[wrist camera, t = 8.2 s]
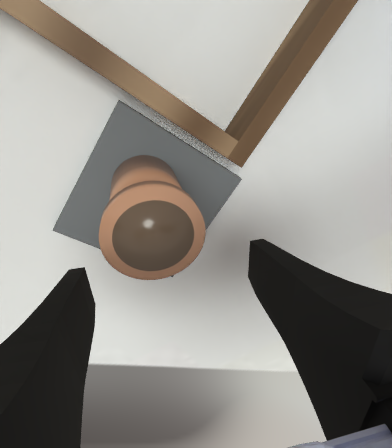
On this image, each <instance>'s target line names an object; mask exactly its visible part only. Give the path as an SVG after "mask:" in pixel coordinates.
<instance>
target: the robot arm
mask: <svg viewBox="0 0 392 448" xmlns="http://www.w3.org/2000/svg"><path fill="white" fill-rule="evenodd" d="M248 278H249V280H250V282H251V285H252V287H253V289H254V292H255V294H256V296H257V298H258V299H259V301H260V303H261V304H262V306H263V308H264V309H265V311H266V313H267V314H268V316H269V318H270V319H271V321H272V322H273V324H274V326H275V327H276V329H277V331H278V332H279V334H280V336H281V337H282V339H283V341H284V343H285V345H286V347H287V349H288V351H289V353H290V355H291V357H292V359H293V361H294V363H295V365H296V368H297V370H298V372H299V374H300V376H301V379H302V381H303V383H304V385H305V387H306V390H307V392H308V395H309V397H310V400H311V402H312V404H313V406H314V409H315V411H316V414H317V416H318V419H319V421H320V424H321V426H322V429H323V432H324V434H325V437H326V439H327V441H325V442H322V443H321V442H310V443H305V444H299V445H296V446H292V447H289V448H392V294H390V293H386V292H382V291H378V290H375V289H372V288H368V287H365V286H362V285H359V284H356V283H353V282H350V281H347V280H345V279H342V278H340V277H337V276H335V275H332V274H330V273H327V272H325V271H323V270H321V269H319V268H317V267H314V266H312V265H310V264H308V263H306V262H304V261H302V260H301V259H299V258H297V257H295V256H293V255H291V254H290V253H288V252H286V251H284V250H282V249H281V248H279V247H277V246H275V245H274V244H272V243H270V242H268V241H266V240H264V239H259V240H253V241H250V252H249V270H248ZM94 326H95V302H94V298H93V295H92V291H91V288H90V284H89V281H88V277H87V274H86V271H85V267H83V268H77V269H71V270H68V272H67V273H66V274H65V275H64V276H63V278H62V279H61V280H60V281H59V283H58V284H57V285H56V286H55V287H54V289H53V290H52V291H51V292H50V294H49V295H48V296H47V297H46V298H45V299H44V301H43V302H42V303H41V304H40V305H39V306H38V308H37V309H36V310H35V311H34V312H33V313H32V314H31V315H30V316H29V317H28V318H27V319H26V320H25V322H24V323H23V324H22V325H21V326H20V327H19V328H18V329H17V330H16V331H15V332H13V333H12V334H11V335H10V336H9V337H8V338H7V339H6V340H5V341H4V342H3V343H2V344H0V448H80V442H81V425H82V424H81V423H82V409H83V395H84V385H85V378H86V373H87V367H88V361H89V356H90V350H91V344H92V338H93V333H94Z"/></svg>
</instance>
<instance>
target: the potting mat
mask: <svg viewBox="0 0 392 448" xmlns="http://www.w3.org/2000/svg"><path fill="white" fill-rule="evenodd" d="M139 155H150V156H154V157H157V158H159V159H161V160H163V161H164V162H166V163H167V164H168V165H169V166H170V167H171V168H172V170H173V172H174V174H175V176H176V178H177V180H178V182H179V184H180V186H181V188H182V189H183V190H184V191H185V192H187V193H188V194H189V195H190V196H191V197H192V199H193V200H194V201H195V203H196V205H197V206H198V208H199V210H200V212H201V214H202V216H203V219H204V222H205V231H206V229H207V228H208V226H209V225H210V223H211V222H212V221H213V219H214V218H215V216H216V215H217V214H218V212H219V211H220V209H221V208H222V206H223V205H224V204H225V202H226V201H227V199H228V198H229V197H230V195H231V194H232V192H233V191H234V189H235V188H236V187H237V185H238V184H239V182H240V181H241V180H242V179H241V178H240V177H239V176H237V175H236V174H234V173H232V172H231V171H229V170H228V169H226V168H225V167H223V166H221V165H220V164H218V163H217V162H215V161H214V160H212V159H211V158H209V157H207V156H206V155H204V154H203V153H201V152H200V151H198V150H196V149H195V148H193V147H192V146H190V145H189V144H187V143H185V142H184V141H182V140H181V139H179V138H178V137H176V136H175V135H173V134H171V133H170V132H168V131H167V130H165V129H164V128H162V127H160V126H159V125H157V124H156V123H154V122H153V121H151V120H150V119H148V118H146V117H145V116H143V115H142V114H140V113H139V112H137V111H135V110H134V109H132V108H131V107H129V106H128V105H126V104H124V103H123V102H121V101H120V100H119V101H118V103H117V105H116V106H115V108H114V110H113V112H112V114H111V116H110V118H109V120H108V122H107V124H106V126H105V128H104V130H103V132H102V134H101V136H100V138H99V140H98V142H97V144H96V146H95V148H94V150H93V152H92V154H91V155H90V157H89V159H88V161H87V163H86V165H85V167H84V169H83V171H82V173H81V175H80V177H79V179H78V181H77V183H76V185H75V187H74V189H73V191H72V193H71V195H70V197H69V199H68V201H67V203H66V204H65V206H64V208H63V210H62V212H61V214H60V216H59V218H58V220H57V222H56V224H55V226H54V228H53V231H55V232H58V233H61V234H63V235H66V236H68V237H71V238H73V239H76V240H79V241H81V242H84V243H86V244H89V245H91V246H94V247H96V248H99V249H101V248H100V244H99V228H100V222H101V217H102V213H103V211H104V209H105V207H106V205H107V204H108V202H109V198H110V189H111V181H112V177H113V174H114V172H115V170H116V169H117V168H118V166H119V165H120V164H121V163H123V162H124V161H125V160H127V159H129V158H131V157H134V156H139ZM173 276H174V275H172V276H171V277H173Z"/></svg>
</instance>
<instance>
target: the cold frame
mask: <svg viewBox="0 0 392 448" xmlns="http://www.w3.org/2000/svg"><path fill="white" fill-rule="evenodd" d="M357 1H358V0H310V1H309V2H308V4H307V5H306V7H305V8H304V10H303V11H302V13H301V15H300V16H299V18H298V19H297V21H296V22H295V24H294V25H293V27H292V28H291V30H290V32H289V33H288V35H287V36H286V38H285V39H284V41H283V42H282V44H281V45H280V47H279V48H278V50H277V52H276V53H275V55H274V56H273V58H272V59H271V61H270V62H269V64H268V65H267V67H266V69H265V70H264V72H263V73H262V75H261V76H260V78H259V79H258V81H257V82H256V84H255V85H254V87H253V89H252V90H251V92H250V93H249V95H248V96H247V98H246V99H245V101H244V102H243V104H242V105H241V107H240V109H239V110H238V112H237V113H236V115H235V116H234V118H233V119H232V121H231V122H230V124H229V126H228V127H227V129H226V130H225V132H224V131H223V130H222V129H220V128H219V127H217V126H216V125H215V124H213V123H212V122H210V121H209V120H207V119H206V118H205V117H203V116H202V115H200V114H199V113H198V112H196V111H195V110H193V109H192V108H191V107H189V106H188V105H186V104H185V103H183V102H182V101H181V100H179V99H178V98H176V97H175V96H174V95H172V94H171V93H169V92H168V91H166V90H165V89H164V88H162V87H161V86H159V85H158V84H157V83H155V82H154V81H152V80H151V79H150V78H148V77H147V76H145V75H144V74H142V73H141V72H140V71H138V70H137V69H135V68H134V67H133V66H131V65H130V64H128V63H127V62H126V61H124V60H123V59H121V58H120V57H118V56H117V55H116V54H114V53H113V52H111V51H110V50H109V49H107V48H106V47H104V46H103V45H102V44H100V43H99V42H97V41H96V40H94V39H93V38H92V37H90V36H89V35H87V34H86V33H85V32H83V31H82V30H80V29H79V28H78V27H76V26H75V25H73V24H72V23H70V22H69V21H68V20H66V19H65V18H63V17H62V16H61V15H59V14H58V13H56V12H55V11H54V10H52V9H51V8H49V7H48V6H46V5H45V4H44V3H42V2H41V1H39V0H0V8H1V9H2V10H4V11H5V12H7V13H8V14H10V15H11V16H13V17H14V18H16V19H17V20H19V21H20V22H22V23H23V24H25V25H26V26H28V27H29V28H31V29H32V30H34V31H35V32H37V33H38V34H40V35H42V36H43V37H45V38H46V39H48V40H49V41H51V42H52V43H54V44H55V45H57V46H58V47H60V48H61V49H63V50H64V51H66V52H67V53H69V54H70V55H72V56H73V57H75V58H76V59H78V60H79V61H81V62H82V63H84V64H85V65H87V66H88V67H90V68H91V69H93V70H94V71H96V72H98V73H99V74H101V75H102V76H104V77H105V78H107V79H108V80H110V81H111V82H113V83H114V84H116V85H117V86H119V87H120V88H122V89H123V90H125V91H126V92H128V93H129V94H131V95H132V96H134V97H135V98H137V99H138V100H140V101H141V102H143V103H144V104H146V105H147V106H149V107H151V108H152V109H154V110H155V111H157V112H158V113H160V114H161V115H163V116H164V117H166V118H167V119H169V120H170V121H172V122H173V123H175V124H176V125H178V126H179V127H181V128H182V129H184V130H185V131H187V132H188V133H190V134H191V135H193V136H194V137H196V138H197V139H199V140H200V141H202V142H203V143H205V144H207V145H208V146H210V147H211V148H213V149H214V150H216V151H217V152H219V153H220V154H222V155H223V156H225V157H226V158H228V159H229V160H231V161H232V162H234V163H235V164H237V165H238V166H240V167H241V168H242V166H243V165H244V163H245V162H246V160H247V159H248V158H249V156H250V155H251V153H252V152H253V150H254V149H255V148H256V146H257V145H258V143H259V142H260V140H261V139H262V137H263V136H264V135H265V133H266V132H267V130H268V129H269V127H270V126H271V125H272V123H273V122H274V120H275V119H276V117H277V116H278V115H279V113H280V112H281V110H282V109H283V107H284V106H285V104H286V103H287V102H288V100H289V99H290V97H291V96H292V94H293V93H294V92H295V90H296V89H297V87H298V86H299V84H300V83H301V81H302V80H303V79H304V77H305V76H306V74H307V73H308V71H309V70H310V69H311V67H312V66H313V64H314V63H315V61H316V60H317V59H318V57H319V56H320V54H321V53H322V51H323V50H324V48H325V47H326V46H327V44H328V43H329V41H330V40H331V38H332V37H333V36H334V34H335V33H336V31H337V30H338V28H339V27H340V26H341V24H342V23H343V21H344V20H345V18H346V17H347V15H348V14H349V13H350V11H351V10H352V8H353V7H354V5H355V4H356V3H357Z"/></svg>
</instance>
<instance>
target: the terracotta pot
mask: <svg viewBox="0 0 392 448" xmlns="http://www.w3.org/2000/svg"><path fill="white" fill-rule="evenodd" d="M204 240H205V222H204V219H203V216H202V214H201V212H200V210H199V208H198V206H197V205H196V203H195V201H194V200H193V199H192V197H191V196H190V195H189V194H188V193H187V192H185V191H184V190H183V189H182V188H181V186H180V184H179V182H178V180H177V178H176V176H175V174H174V172H173V170H172V168H171V167H170V166H169V165H168V164H167V163H166V162H164V161H163V160H161V159H159V158H157V157H154V156H150V155H139V156H134V157H131V158H129V159H127V160H125V161H124V162H123V163H121V164H120V165H119V166H118V168H117V169H116V170H115V172H114V174H113V177H112V181H111V189H110V198H109V202H108V204H107V205H106V207H105V209H104V211H103V213H102V217H101V222H100V228H99V244H100V248H101V251H102V253H103V255H104V257H105V259H106V260H107V261H108V263H109V264H110V265H111V266H112V267H113V268H115V269H116V270H117V271H119V272H121V273H122V274H124V275H127V276H129V277H132V278H136V279H142V280H156V279H162V278H166V277H169V276H172V275H174V274H176V273H178V272H180V271H182V270H183V269H185V268H186V267H187V266H189V265H190V264H191V263H192V262H193V261H194V260H195V258H196V257H197V256H198V254H199V253H200V251H201V249H202V247H203V244H204Z"/></svg>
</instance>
